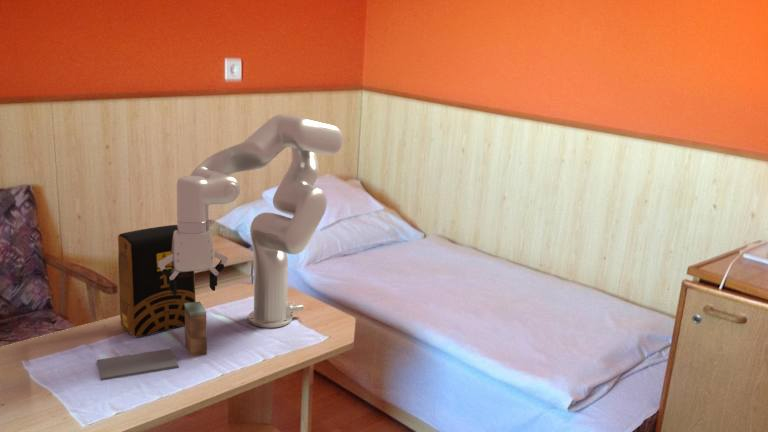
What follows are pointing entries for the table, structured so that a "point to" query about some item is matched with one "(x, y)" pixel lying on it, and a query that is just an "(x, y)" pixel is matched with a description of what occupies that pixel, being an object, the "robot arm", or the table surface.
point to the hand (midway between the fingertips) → (193, 290)
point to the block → (195, 329)
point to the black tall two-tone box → (150, 283)
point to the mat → (136, 364)
